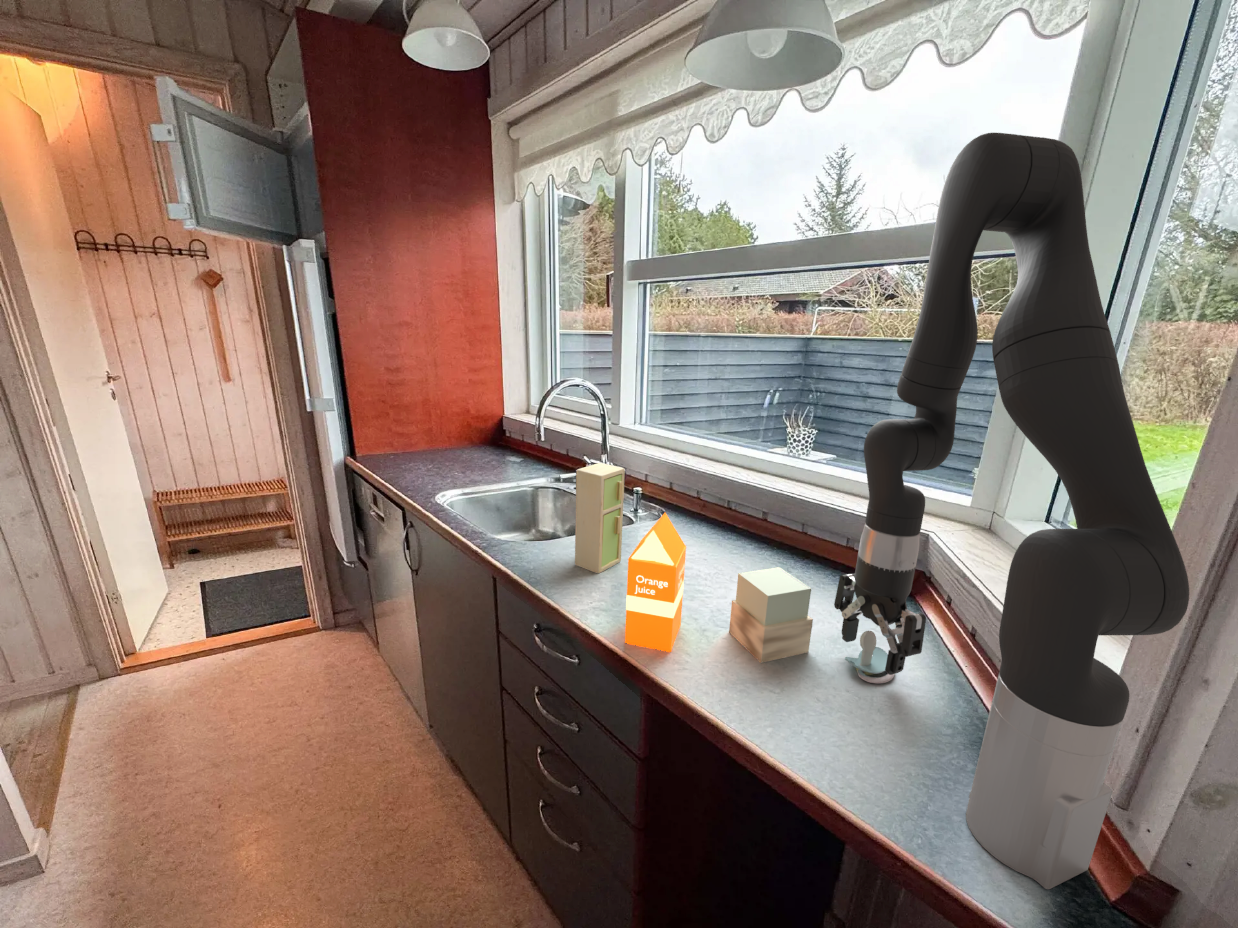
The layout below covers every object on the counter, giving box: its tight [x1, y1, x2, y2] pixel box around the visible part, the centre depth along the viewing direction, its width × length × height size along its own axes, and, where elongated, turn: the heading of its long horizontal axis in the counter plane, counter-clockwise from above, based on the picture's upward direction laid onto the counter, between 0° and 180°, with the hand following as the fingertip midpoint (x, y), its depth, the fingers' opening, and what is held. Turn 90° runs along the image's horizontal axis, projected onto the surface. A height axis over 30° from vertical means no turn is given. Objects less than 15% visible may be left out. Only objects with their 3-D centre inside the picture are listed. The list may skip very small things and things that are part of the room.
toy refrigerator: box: [574, 462, 626, 574], centre depth 112 cm, size 8×7×21 cm
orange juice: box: [624, 512, 687, 653], centre depth 87 cm, size 8×9×20 cm
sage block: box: [735, 566, 812, 626], centre depth 86 cm, size 8×8×5 cm
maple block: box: [728, 599, 814, 664], centre depth 88 cm, size 9×9×6 cm
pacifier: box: [844, 630, 896, 684], centre depth 81 cm, size 7×6×6 cm
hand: (869, 655), depth 82 cm, fingers open, 8 cm apart
